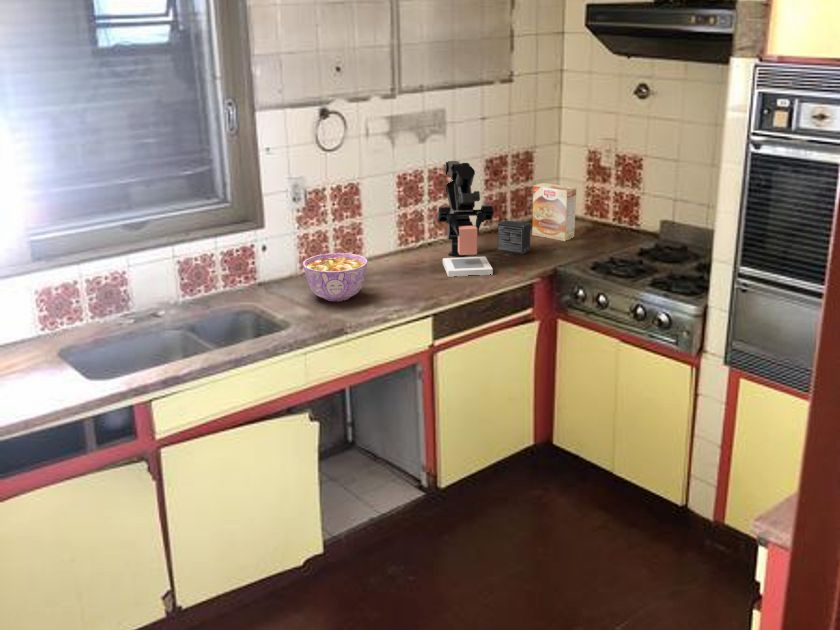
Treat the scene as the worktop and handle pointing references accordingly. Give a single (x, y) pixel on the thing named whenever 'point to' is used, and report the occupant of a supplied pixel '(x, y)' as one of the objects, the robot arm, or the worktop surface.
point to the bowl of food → (335, 275)
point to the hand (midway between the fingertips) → (468, 235)
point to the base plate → (467, 266)
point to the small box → (514, 237)
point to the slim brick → (467, 240)
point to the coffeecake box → (554, 211)
